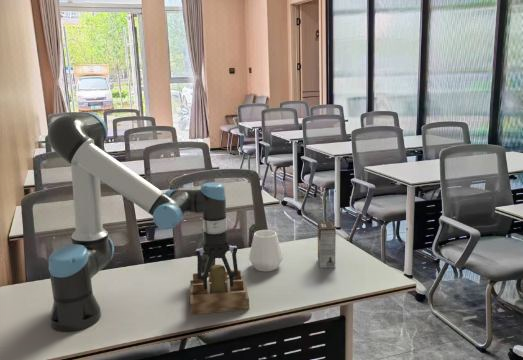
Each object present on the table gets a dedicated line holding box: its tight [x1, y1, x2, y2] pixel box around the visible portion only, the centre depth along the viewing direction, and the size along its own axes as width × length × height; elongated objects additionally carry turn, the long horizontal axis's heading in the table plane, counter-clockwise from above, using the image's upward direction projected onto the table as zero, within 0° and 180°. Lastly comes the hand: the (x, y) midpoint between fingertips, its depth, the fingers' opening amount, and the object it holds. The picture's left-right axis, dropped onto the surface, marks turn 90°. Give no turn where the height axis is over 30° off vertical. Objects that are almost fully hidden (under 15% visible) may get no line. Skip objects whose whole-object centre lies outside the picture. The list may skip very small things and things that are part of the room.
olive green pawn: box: [210, 264, 227, 294], centre depth 161 cm, size 6×6×11 cm
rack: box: [189, 269, 250, 315], centre depth 167 cm, size 19×18×6 cm
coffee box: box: [317, 221, 337, 269], centre depth 192 cm, size 9×6×16 cm
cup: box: [248, 229, 284, 272], centre depth 191 cm, size 13×13×14 cm
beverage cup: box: [196, 227, 216, 273], centre depth 181 cm, size 7×7×20 cm
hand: (219, 296), depth 163 cm, fingers closed on olive green pawn, 6 cm apart
